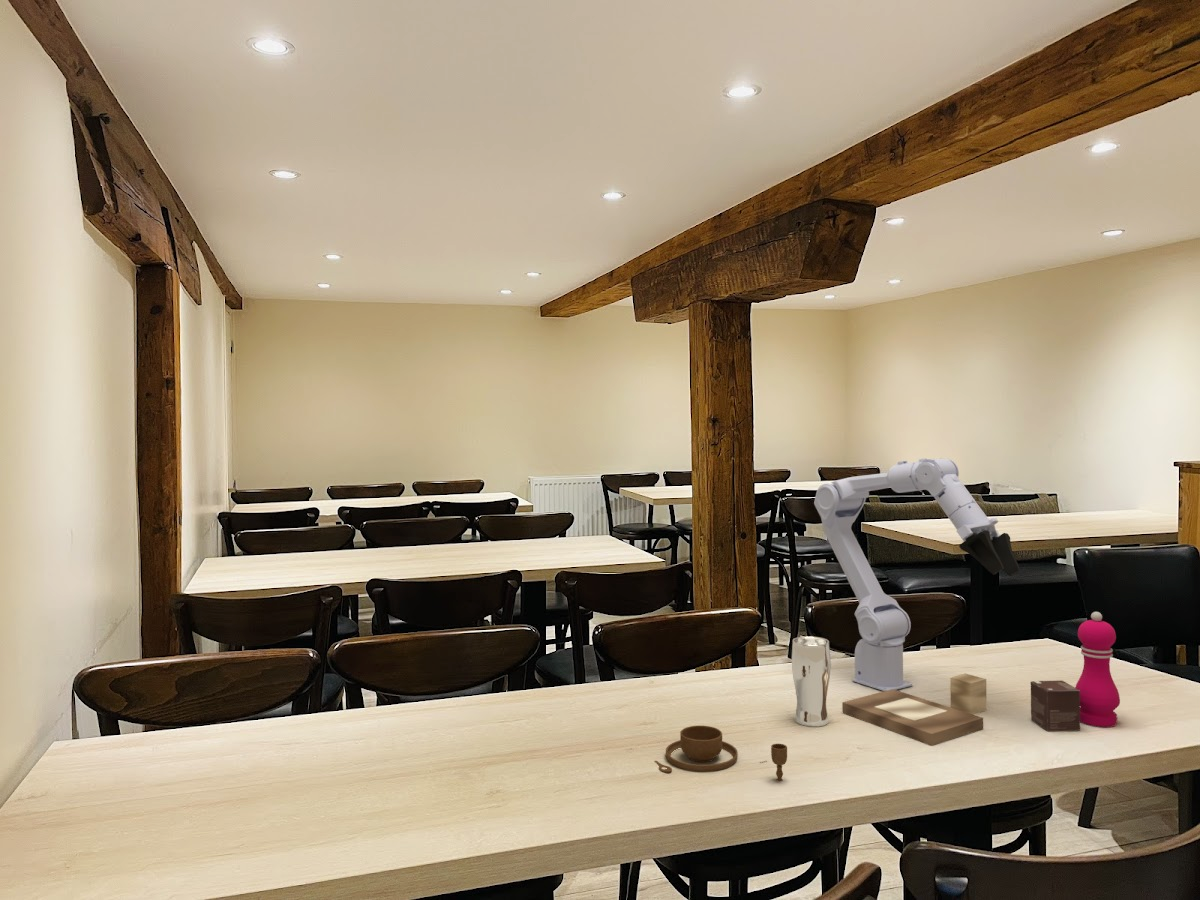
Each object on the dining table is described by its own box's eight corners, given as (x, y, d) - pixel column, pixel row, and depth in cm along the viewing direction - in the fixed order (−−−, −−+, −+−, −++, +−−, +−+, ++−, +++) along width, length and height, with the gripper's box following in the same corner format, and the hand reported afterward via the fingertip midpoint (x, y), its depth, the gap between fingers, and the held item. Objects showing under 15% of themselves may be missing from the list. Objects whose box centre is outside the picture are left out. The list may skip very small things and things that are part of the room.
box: (1081, 731, 152) (1081, 690, 151) (1046, 732, 152) (1046, 690, 151) (1063, 719, 158) (1063, 679, 157) (1029, 720, 158) (1029, 680, 157)
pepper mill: (1126, 729, 152) (1126, 616, 151) (1081, 727, 153) (1081, 615, 153) (1111, 715, 159) (1110, 608, 158) (1068, 713, 160) (1068, 607, 160)
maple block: (950, 708, 165) (950, 677, 165) (965, 704, 167) (965, 673, 167) (971, 715, 161) (971, 683, 161) (986, 710, 163) (986, 679, 163)
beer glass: (827, 714, 162) (826, 636, 162) (834, 728, 155) (833, 645, 155) (790, 714, 163) (789, 635, 163) (794, 727, 156) (793, 645, 156)
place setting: (731, 741, 152) (731, 708, 152) (795, 785, 133) (795, 747, 133) (640, 756, 146) (639, 722, 146) (693, 805, 127) (693, 765, 127)
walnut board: (842, 712, 163) (842, 701, 163) (892, 699, 171) (892, 688, 171) (931, 745, 146) (931, 732, 146) (983, 728, 154) (983, 716, 153)
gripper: (964, 494, 156) (1010, 557, 148) (996, 502, 165) (1040, 562, 158) (933, 517, 159) (976, 580, 152) (966, 523, 169) (1008, 582, 162)
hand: (1006, 572), depth 155 cm, fingers open, 7 cm apart
